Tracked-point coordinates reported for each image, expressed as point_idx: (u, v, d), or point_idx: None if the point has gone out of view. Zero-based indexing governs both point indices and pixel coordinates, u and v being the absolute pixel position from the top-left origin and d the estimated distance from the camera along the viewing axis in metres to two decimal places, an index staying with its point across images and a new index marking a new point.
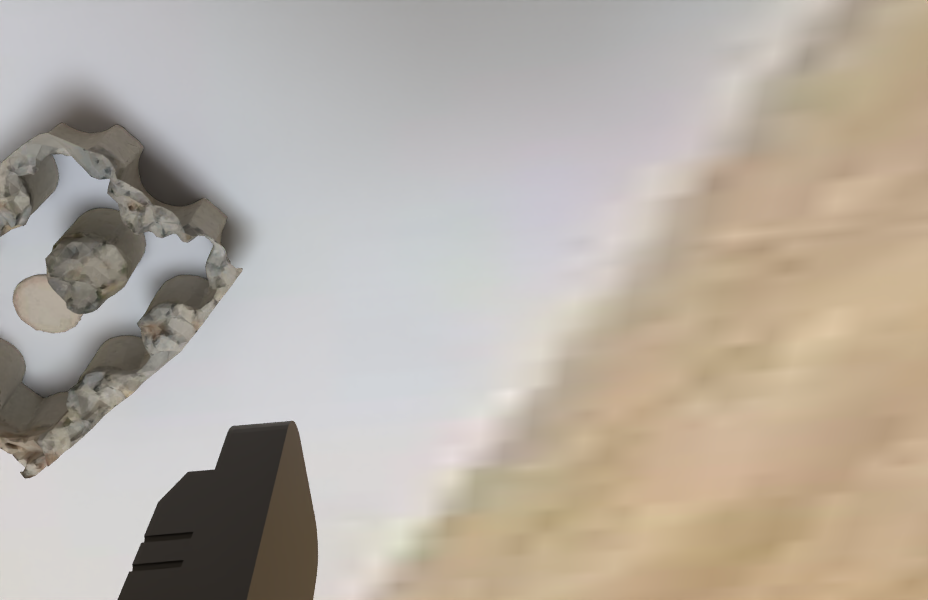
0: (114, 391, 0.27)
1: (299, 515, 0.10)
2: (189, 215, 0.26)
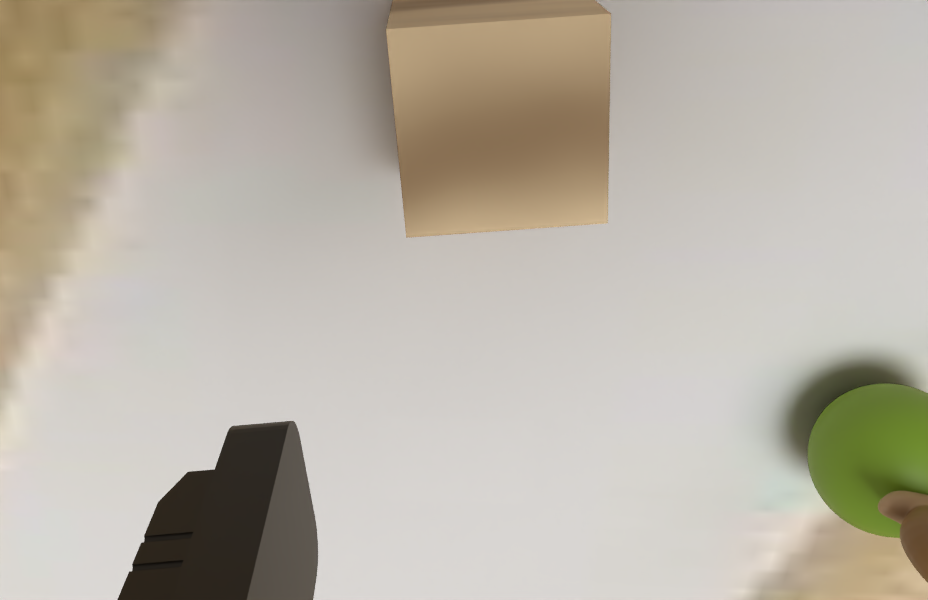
0: None
1: (299, 515, 0.10)
2: None
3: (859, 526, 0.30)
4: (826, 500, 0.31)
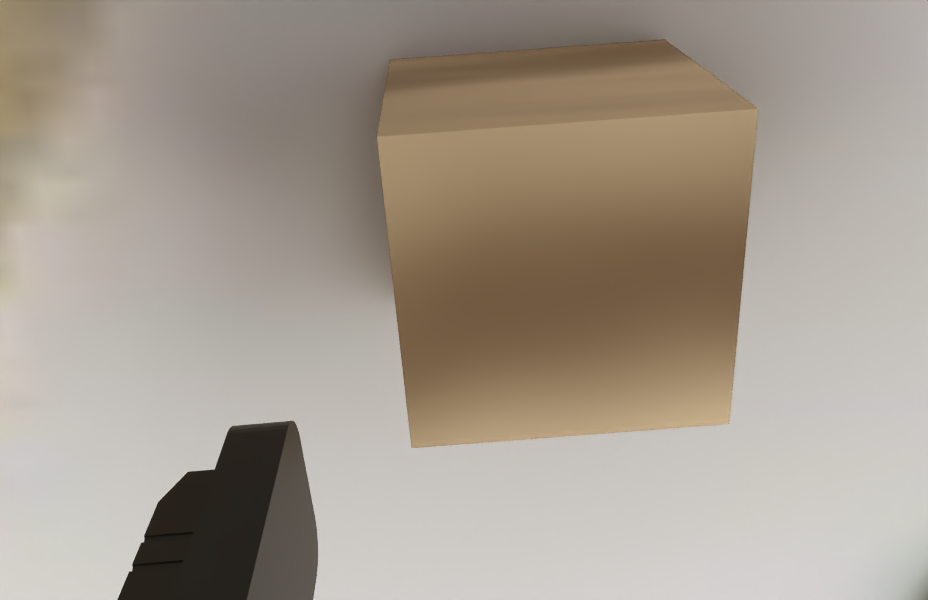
0: None
1: (299, 515, 0.10)
2: None
3: None
4: None
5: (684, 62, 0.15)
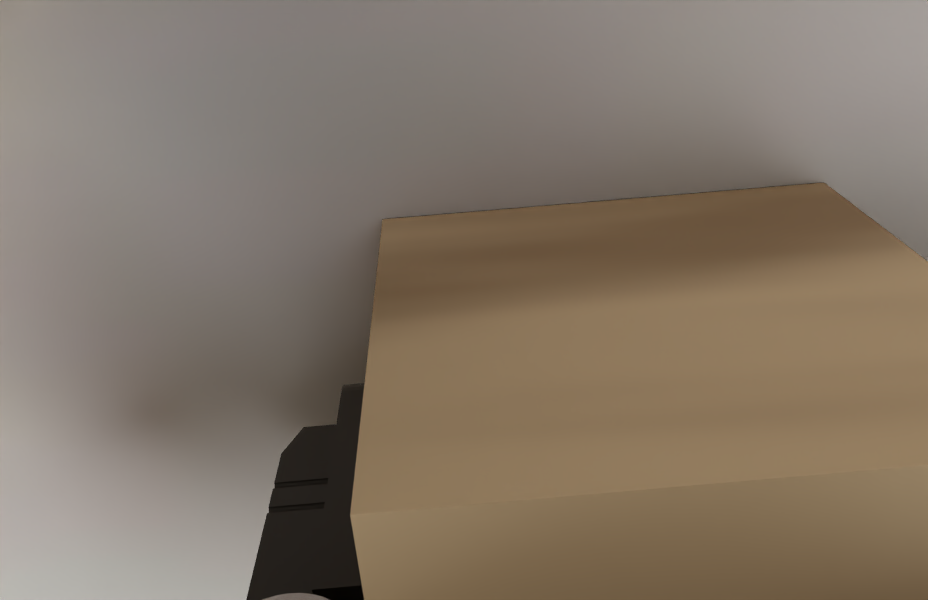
0: None
1: None
2: None
3: None
4: None
5: (898, 254, 0.09)
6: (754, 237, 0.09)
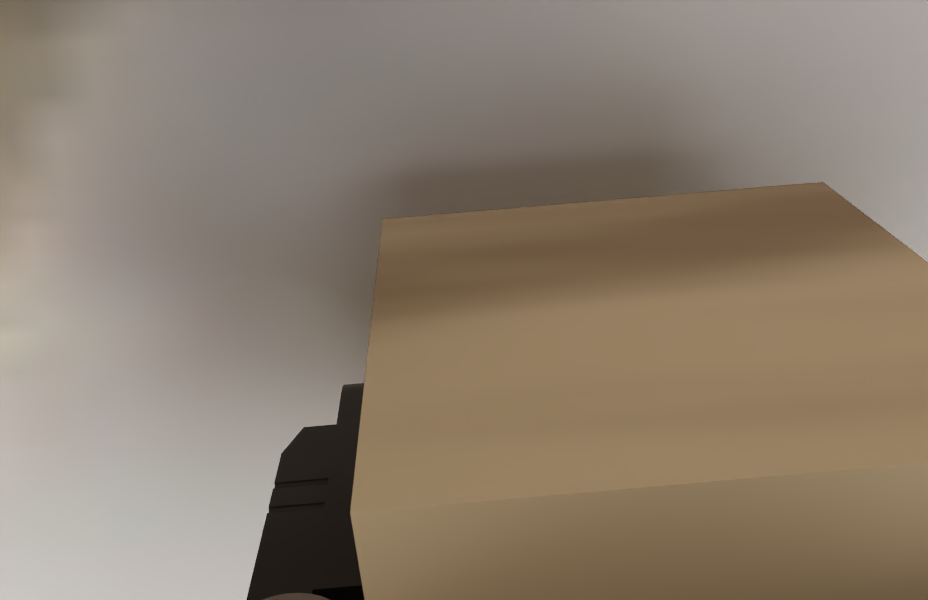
0: None
1: None
2: None
3: None
4: None
5: (896, 253, 0.09)
6: (753, 236, 0.09)
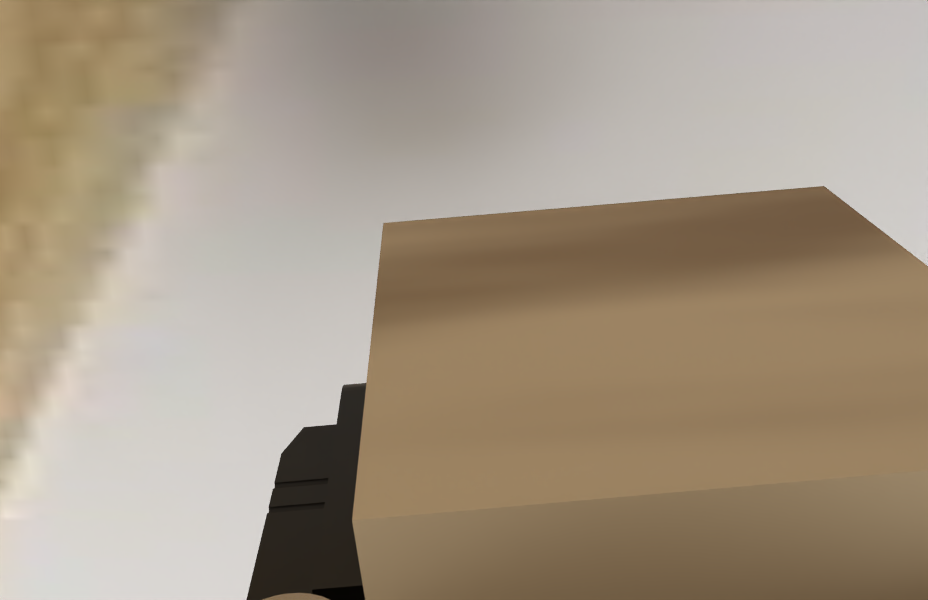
0: None
1: None
2: None
3: None
4: None
5: (897, 258, 0.09)
6: (754, 241, 0.09)
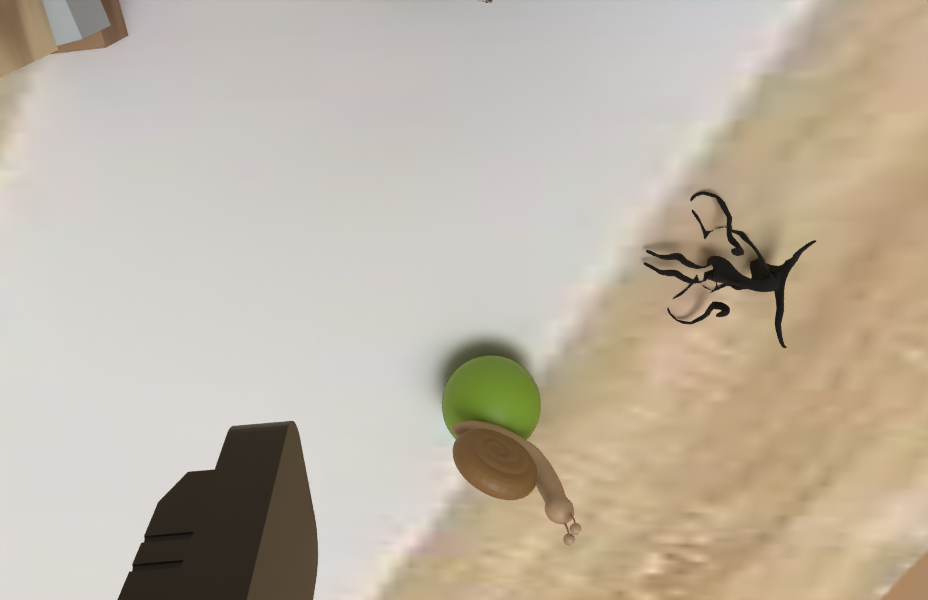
0: None
1: (299, 515, 0.10)
2: None
3: None
4: None
5: None
6: None
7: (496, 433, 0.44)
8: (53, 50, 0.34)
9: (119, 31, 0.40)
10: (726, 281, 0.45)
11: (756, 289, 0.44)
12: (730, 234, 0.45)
